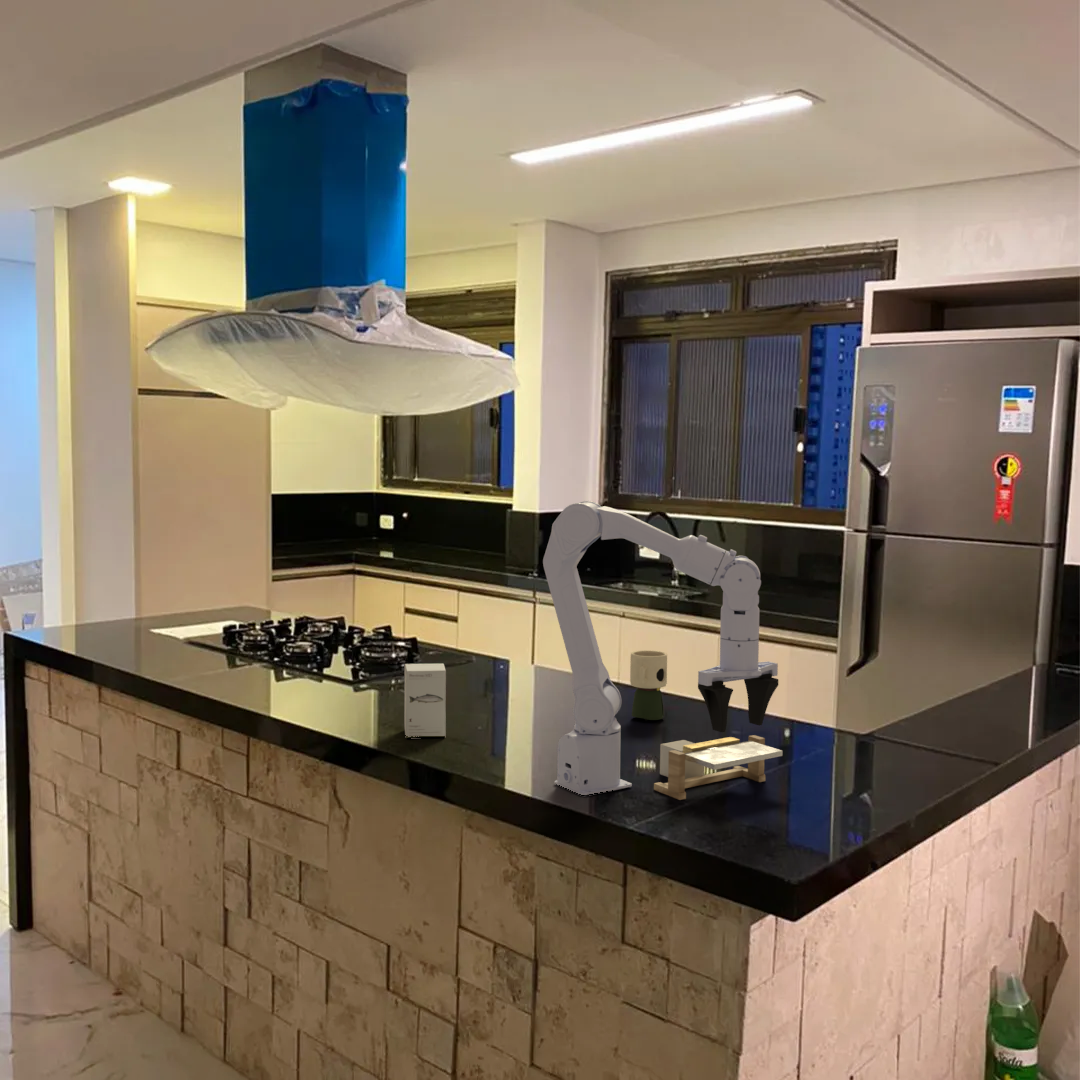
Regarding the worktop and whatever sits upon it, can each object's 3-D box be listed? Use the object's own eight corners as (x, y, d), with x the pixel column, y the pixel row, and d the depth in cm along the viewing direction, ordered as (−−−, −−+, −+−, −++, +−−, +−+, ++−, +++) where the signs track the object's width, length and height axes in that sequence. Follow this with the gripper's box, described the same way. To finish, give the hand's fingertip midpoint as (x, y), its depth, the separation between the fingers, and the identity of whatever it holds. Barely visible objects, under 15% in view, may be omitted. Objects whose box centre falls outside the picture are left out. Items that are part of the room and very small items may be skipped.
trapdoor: (713, 772, 158) (713, 762, 158) (671, 758, 166) (672, 747, 166) (783, 758, 166) (783, 747, 166) (740, 744, 174) (740, 734, 174)
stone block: (680, 782, 171) (680, 751, 171) (659, 774, 176) (660, 744, 175) (704, 777, 174) (704, 746, 174) (683, 769, 178) (683, 739, 178)
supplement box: (405, 740, 195) (405, 670, 194) (404, 729, 203) (403, 662, 202) (446, 738, 197) (446, 669, 196) (443, 728, 204) (443, 662, 203)
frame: (679, 800, 162) (680, 755, 162) (653, 789, 167) (654, 746, 167) (765, 781, 172) (766, 738, 172) (738, 771, 177) (739, 730, 177)
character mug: (659, 727, 206) (660, 659, 205) (622, 724, 208) (623, 656, 207) (671, 714, 216) (673, 650, 215) (637, 711, 218) (638, 647, 217)
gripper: (722, 646, 156) (720, 739, 157) (793, 637, 164) (791, 726, 165) (689, 639, 162) (687, 729, 163) (759, 631, 170) (757, 717, 171)
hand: (737, 727), depth 164 cm, fingers open, 7 cm apart
